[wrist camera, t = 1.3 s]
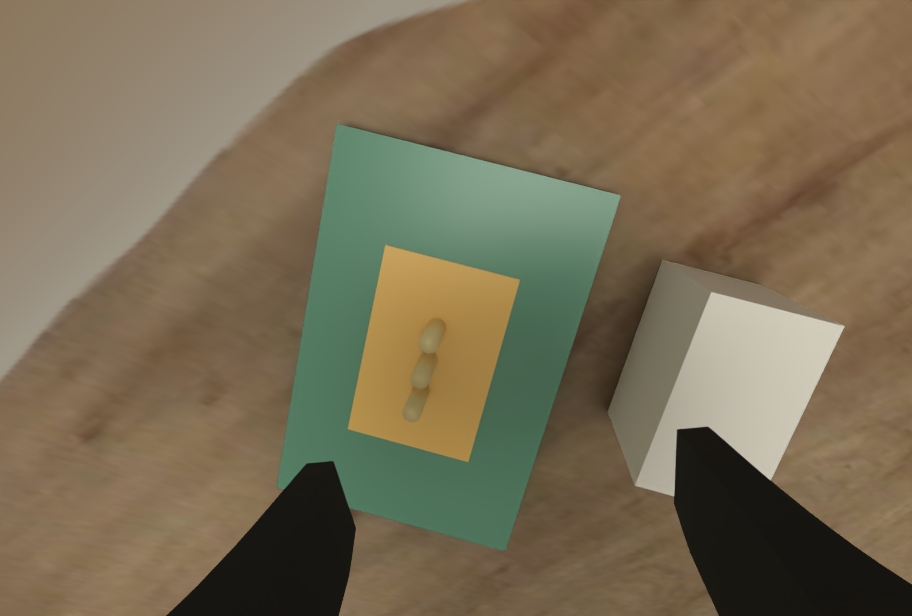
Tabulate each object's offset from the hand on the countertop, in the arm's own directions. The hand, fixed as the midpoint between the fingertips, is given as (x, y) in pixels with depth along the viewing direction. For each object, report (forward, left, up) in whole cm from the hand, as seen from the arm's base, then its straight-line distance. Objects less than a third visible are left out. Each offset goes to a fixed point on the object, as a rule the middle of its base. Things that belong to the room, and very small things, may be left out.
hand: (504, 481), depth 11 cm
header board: (+3, +3, -14) cm, 14 cm away
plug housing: (-8, 0, -14) cm, 16 cm away
